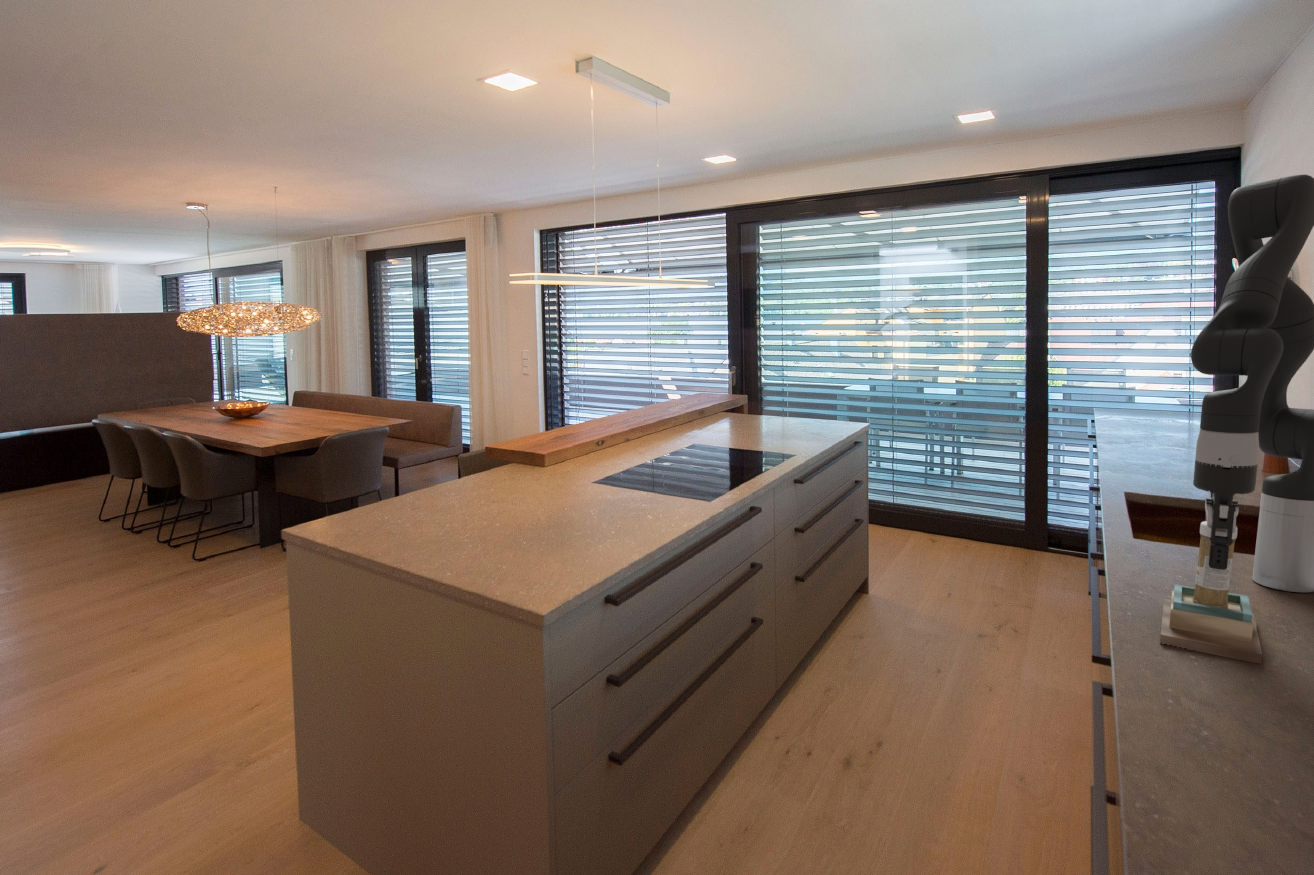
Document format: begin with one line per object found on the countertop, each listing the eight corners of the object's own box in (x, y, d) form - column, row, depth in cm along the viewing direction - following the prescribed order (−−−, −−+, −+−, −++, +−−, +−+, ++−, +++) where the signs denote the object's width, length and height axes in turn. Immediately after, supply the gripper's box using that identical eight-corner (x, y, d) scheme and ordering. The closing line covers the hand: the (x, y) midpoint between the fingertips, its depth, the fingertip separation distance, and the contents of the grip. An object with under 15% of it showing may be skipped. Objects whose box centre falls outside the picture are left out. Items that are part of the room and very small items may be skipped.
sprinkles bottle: (1194, 598, 116) (1202, 518, 113) (1229, 605, 112) (1239, 523, 110) (1190, 606, 112) (1199, 524, 110) (1226, 613, 109) (1236, 529, 107)
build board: (1163, 606, 124) (1166, 575, 123) (1252, 622, 116) (1256, 589, 116) (1159, 643, 109) (1163, 608, 109) (1261, 664, 102) (1265, 626, 101)
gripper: (1194, 450, 117) (1186, 545, 119) (1195, 465, 105) (1186, 569, 108) (1254, 454, 112) (1244, 552, 115) (1261, 469, 101) (1250, 578, 103)
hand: (1216, 560), depth 111 cm, fingers open, 8 cm apart
